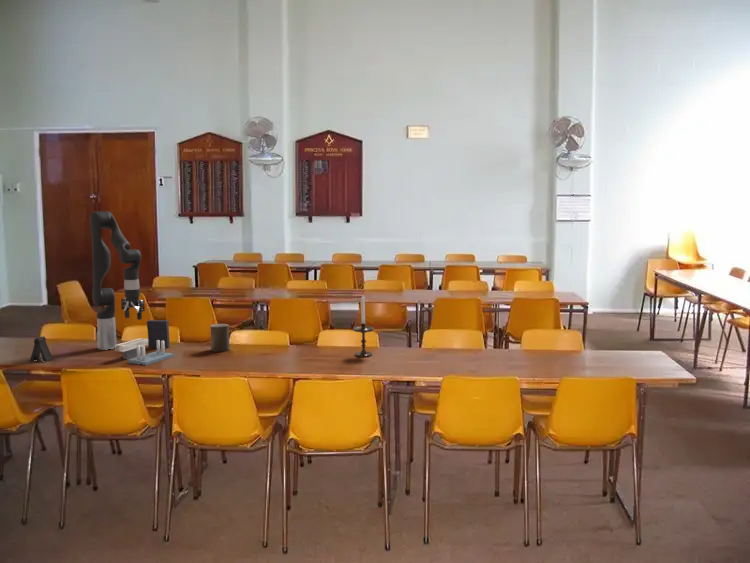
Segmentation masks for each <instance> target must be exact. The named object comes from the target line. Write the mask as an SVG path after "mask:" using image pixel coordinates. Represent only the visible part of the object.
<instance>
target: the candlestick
mask: <svg viewBox="0 0 750 563" xmlns="http://www.w3.org/2000/svg"><path fill="white" fill-rule="evenodd" d="M364 293H365V289H363V291H362V293H361V295H362V296H361V298H360V300H361V301H360V303H361V304H360V305H361V310H360V311H361V317H360V318H361V322H359V324H360V325H359V326H353V328H352V331H353V332H357V333H361V337H362V338H361V340H360V343H361V345H360V346H361V348H362V349H361V351H357V352H355V353H354V357H357V358H369V357H372V356H373V353H372V352H371V351H366V347H367V345H366V343H367V340H366V335H365V334H366V333H369V332H374V331H375V328H374V326H369V325H367V324H368V322H366V297H365V294H364Z"/></svg>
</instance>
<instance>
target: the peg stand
mask: <svg viewBox="0 0 750 563" xmlns="http://www.w3.org/2000/svg"><path fill="white" fill-rule="evenodd" d="M156 343H157V348H156V351H153V352H150V353H147V354H146V345H145V346H142V347H141V351H142V355H140V346H137V357H134V358H131V359H127V361H128V362H127V363H129V364H133V365H140V364H142V365H141V366H149V365H152V364H155V363H157V362H161V361H164V360H168V359H171V358H173V357H175V353H173V352H172V353H171V352H166V350H165V349H166V348H165V346H164V341H161V348H160V340H156Z"/></svg>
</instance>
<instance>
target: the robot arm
mask: <svg viewBox="0 0 750 563" xmlns="http://www.w3.org/2000/svg"><path fill="white" fill-rule="evenodd" d="M89 224H90V234H91V248H92V250H91V251H92V257H91V258H92V260H91V261H92V294H91V295H92V298H91V299H92V303H93V305H94V306H96V307H102V306H103V307H104V308H103V309H102V310H100V311H98V312H97V313H96V321H97V323H96V324H97V331H96V346H97V349H98V350H101V351H109V350H108V349H111V350H115V349H114V348H115V345H117V344H118V343H117V332H116V330H117V329H116V294H115V290H114V289H113V288H111V287H106V288H102V284H103V280H104V278H105V277H106V275H107V273H108V272H109V270H110V267H111V264H112V258H111V251H110V249H109V247H108V246H107V245H106V243H105V242H104V240H103V238H102V234H101V230H102V229H103V230H105V229H109V230H110V231H111V233H110V243H111V244H112V245H113V247H114V248H115V249H116V251H117V254H118V257H119V258H118V259H119V260H120V262H121V263H123V264H130V266H129V267H126V268H124V270H123V278H124V279H123V281H124V283H123V290H124V297H123V298H122V297H121V301H120V303H121V305H120V308H121V310H122V311H123V312H124V317H125V319H129V318H130V309H131V308H132V309H134V310H135V311H136V320H138V321H140V320H142V316H143V315H142V314H143V312H145V311H146V310H145V309H146V308H145V300H144V299H140V297H141V291H140V280H139V279H140V278H139V276H140V275H139V270H140V266H141V265H140V264H141V261H142V254H141V251H140V250H139V249H136V248H132V249H131V243H130V242H129V241H128V239H127V238H126V237H125V236H124V234H123V232H122V231H121V229H120V227H119V224H118V222H117V221H116V218H115V217H114V215H113V213H111V211H108V210H104V211H103V210H102V211H99V210H98V211H92V212H91V214H90V216H89Z"/></svg>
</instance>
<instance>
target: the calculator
mask: <svg viewBox="0 0 750 563" xmlns="http://www.w3.org/2000/svg"><path fill="white" fill-rule="evenodd" d="M169 323H170V322H169V320H168V319H165V320H164V319H163V320H161V319H159V320H158V319H149V320H147V321H146V328H147V339H148V345H147V346H148V348H151V349H152V348H153V349H157V343H156V340H160V349H161V341H164V346H165V349H168V348H170V345H171V344H170V327H169Z"/></svg>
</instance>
